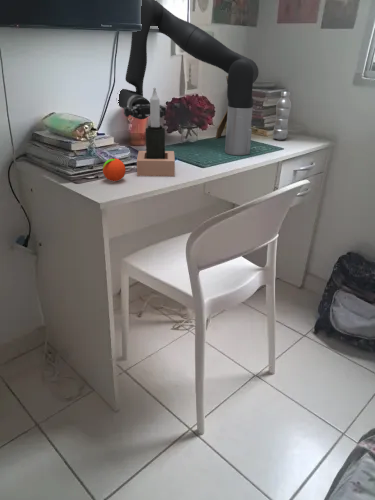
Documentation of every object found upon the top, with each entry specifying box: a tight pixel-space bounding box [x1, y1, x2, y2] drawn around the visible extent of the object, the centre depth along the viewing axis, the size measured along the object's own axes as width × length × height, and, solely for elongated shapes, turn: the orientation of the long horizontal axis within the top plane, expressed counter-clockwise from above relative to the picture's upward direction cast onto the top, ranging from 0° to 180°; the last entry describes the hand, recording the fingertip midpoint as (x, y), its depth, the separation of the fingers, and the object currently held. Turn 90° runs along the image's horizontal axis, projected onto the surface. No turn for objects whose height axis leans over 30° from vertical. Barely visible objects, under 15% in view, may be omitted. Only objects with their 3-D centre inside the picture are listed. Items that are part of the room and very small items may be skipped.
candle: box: [145, 86, 166, 159], centre depth 128 cm, size 5×5×25 cm
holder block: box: [136, 150, 176, 177], centre depth 133 cm, size 12×12×5 cm
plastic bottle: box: [272, 90, 292, 141], centre depth 174 cm, size 6×7×20 cm
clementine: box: [102, 157, 126, 182], centre depth 122 cm, size 8×7×7 cm
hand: (149, 114), depth 133 cm, fingers open, 8 cm apart
